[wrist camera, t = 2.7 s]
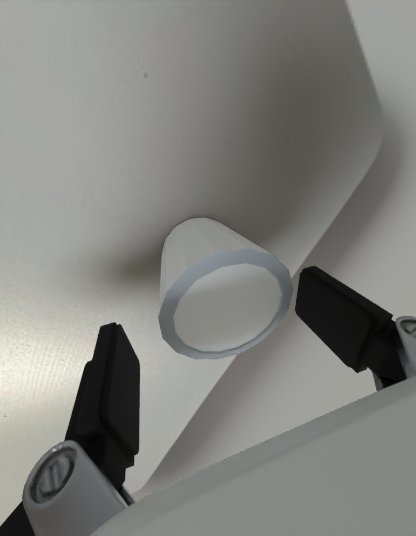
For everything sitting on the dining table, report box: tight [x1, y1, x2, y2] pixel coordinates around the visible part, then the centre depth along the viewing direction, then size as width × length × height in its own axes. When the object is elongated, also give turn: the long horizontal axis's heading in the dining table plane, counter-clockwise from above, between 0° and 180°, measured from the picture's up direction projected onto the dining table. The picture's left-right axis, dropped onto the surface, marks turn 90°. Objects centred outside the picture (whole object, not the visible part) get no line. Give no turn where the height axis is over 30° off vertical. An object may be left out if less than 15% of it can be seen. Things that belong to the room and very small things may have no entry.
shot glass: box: [158, 217, 293, 359], centre depth 13 cm, size 7×7×7 cm
